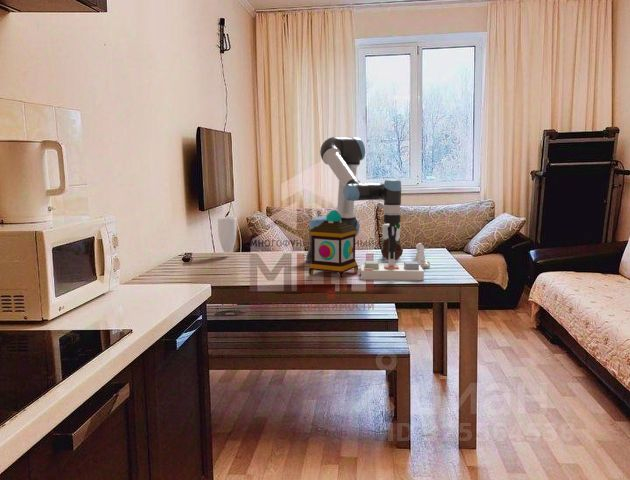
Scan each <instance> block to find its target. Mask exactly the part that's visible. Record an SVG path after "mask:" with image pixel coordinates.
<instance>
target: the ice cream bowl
mask: <svg viewBox="0 0 630 480" xmlns="http://www.w3.org/2000/svg"><path fill="white" fill-rule="evenodd" d="M388 247H389V238H387V239H386V240H385V241H384V248H383V247H382V248H381V249H380V253H381V255H383V256H384V257H383V258H385V260H387V261H389V252H388V250H389V249H388ZM395 250H396V251H395V261H397V260H398V259H400V258H401V257H402V255H403V251H404V249H403V248H402V246H401V243H400V244H399V243H398V242H396V241H395Z"/></svg>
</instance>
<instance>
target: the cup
mask: <svg viewBox="0 0 630 480" xmlns="http://www.w3.org/2000/svg"><path fill="white" fill-rule="evenodd" d="M217 233H218V239H219V243H220V246H221V248H222V250H223V252H224V253H231V252H233V250H234V247H235V244H236V238H237V217H233V216H224V217H223V216H221V217H218V219H217Z"/></svg>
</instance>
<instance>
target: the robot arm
mask: <svg viewBox="0 0 630 480" xmlns="http://www.w3.org/2000/svg"><path fill="white" fill-rule="evenodd" d="M365 147H366V146H365V144H364V141H363V140H362V139H361V138H360V137H353V136H343V137H342V136H332V137H329V138H327V139H326V140H324V141H323V143H322V144H321V146H320V151H319V153H320V154H319V155H320V158H321V160H322V161H323V163H324V164H325V165H328V166H329V168H330V170H331V171H332V173H333V174H334V175H335V177H336V178H337V179H338V194H337V207H336V208H337V209H336V211H337V212H338V213H339V214H340V215H341V220H344V222H346V223H347V224H348V225H352V226H354V227H355V228H356V229H357V232H356V235H355V238H356V237H357V236H358V235H359V232H360V220H359V219H358V217H357V215H356V214H355V212H354V209H355V202H356V201H377V200H378V201H380V200H381V201H383V213H384V215H383V224H389V227H388V228H387V229H388V236H389V247H388V249H389V250H388V252H389V260H388V264H387V265H389V266H395V265H396V264H395V263H396V260H395V251H396V250H395V240H396V231H397V227H395V223H399V224H401V221H402V220H401V219H402V218H401V217H402V216H401V212H402V211H401V210H402V209H403V207H402V205H401V204H402V181H401V180H400V179H386V180H384V183H382V182H376V183H361V182H360V180H359V179H358V177H357V168H358V167H359V166H360V165H361V161H362V160H364V159H365V156H366V148H365ZM326 217H327V215H324V216H323V215H321V216H320V215H319V216H316V217H313V218H311V219H310V220H309V225H308V231H309V233H308V235H309V240H308V241H309V243H308V244H309V245H308V247H309V248H308V250H307V253H306V256H305V257H306V258H305V261H306V262H307V263H310V264H311V263H312V236H311V234H310V231H311V229H313V228H314V227H316V226H319V225H321V223H323V222H324V221H325V220H326Z"/></svg>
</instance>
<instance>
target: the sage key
mask: <svg viewBox="0 0 630 480" xmlns="http://www.w3.org/2000/svg"><path fill="white" fill-rule="evenodd" d="M364 265H365V268H373V269H379V265H380V264H379V261H378V260H373V261H372V260H366V261H364Z"/></svg>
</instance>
